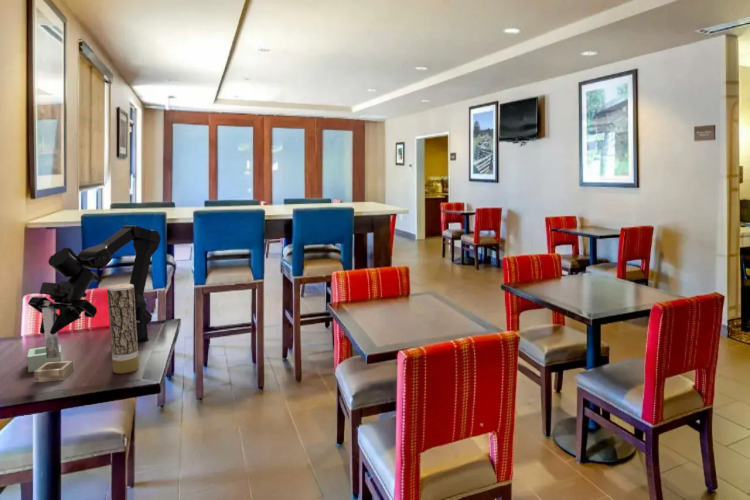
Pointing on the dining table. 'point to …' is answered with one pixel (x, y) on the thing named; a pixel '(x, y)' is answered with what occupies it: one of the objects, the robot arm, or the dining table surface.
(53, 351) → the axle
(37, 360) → the socket block
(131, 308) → the wooden log
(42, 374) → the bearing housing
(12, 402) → the dining table surface
